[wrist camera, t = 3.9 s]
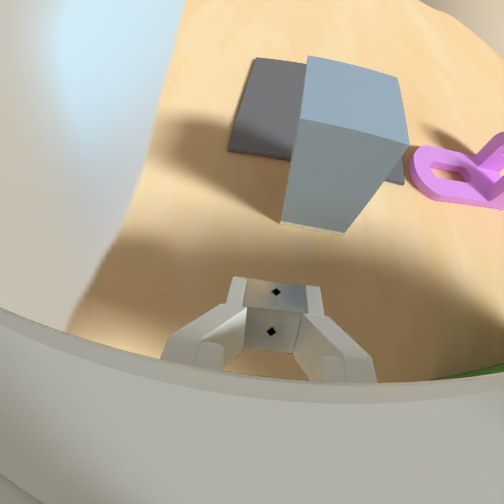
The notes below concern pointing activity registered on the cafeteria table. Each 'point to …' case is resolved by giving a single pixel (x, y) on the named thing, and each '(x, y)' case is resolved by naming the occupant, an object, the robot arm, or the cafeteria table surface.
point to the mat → (276, 112)
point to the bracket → (462, 174)
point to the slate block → (342, 144)
